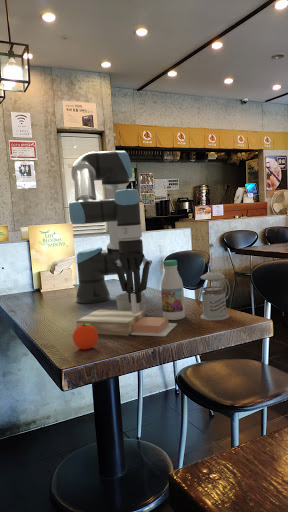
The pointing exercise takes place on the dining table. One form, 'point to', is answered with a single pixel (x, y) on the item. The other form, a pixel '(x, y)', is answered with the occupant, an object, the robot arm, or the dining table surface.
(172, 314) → the milk bottle
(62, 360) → the dining table surface
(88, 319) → the block
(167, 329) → the mat
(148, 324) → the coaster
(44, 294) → the dining table surface
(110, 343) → the dining table surface
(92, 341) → the clementine
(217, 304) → the french press
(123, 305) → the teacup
